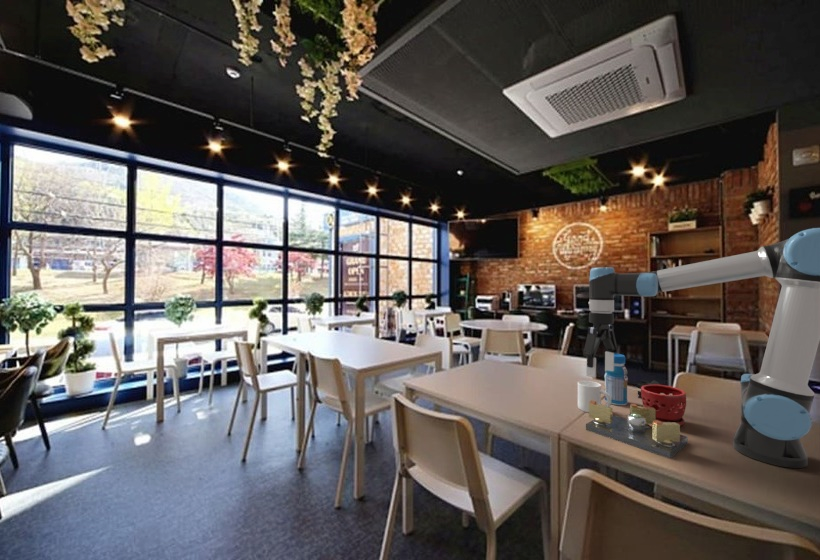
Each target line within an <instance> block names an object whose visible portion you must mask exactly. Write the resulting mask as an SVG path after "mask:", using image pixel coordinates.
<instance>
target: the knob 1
mask: <svg viewBox="0 0 820 560" xmlns="http://www.w3.org/2000/svg"><path fill="white" fill-rule="evenodd" d="M604 405H605V404H604ZM604 405H603V404H601V405H600V404H597V403H596V401H589V413H588V418H591V419H593V420H595V422H597V423H600V424H605V423H609V424H611V423H612V415H613V407H611V406H610V407H608V406H604Z"/></svg>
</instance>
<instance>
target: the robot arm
mask: <svg viewBox="0 0 820 560" xmlns="http://www.w3.org/2000/svg"><path fill="white" fill-rule="evenodd" d="M759 277H767V278H769V279H775V280H776V281H777V282H778V283H779V284H780V285H781V289H780V293H779V296H778V301H777V304H776V306H775V307H776V308H775V311H774V315H773V320H772V323H771V327H770V331H769V336H768V339H767V343H766V348H765V352H764V355H763V358H762V362H761V367H760V371H759V372H758V373H756V374H755V373H743V374H742V375H741V377H740V382H739V384H740V423H739V425H738V428H737V430H736V432H735V434H734V436H733V440H732V441H733V442H732V447H733V449H734V450H736V451H737V452H739V453H740V454H742V455H744V456H746V457H749V458H751V459H753V460H756V461H758V462H759V461H760V462H761V463H766V464H769V465H773V466H778V467H782V468H783V467H784V468H789V469H790V468H793V469H800V468H801V469H802V468H803V469H804V468H806V467H808V462H809V461H808V458H809V457H808V454H807V452H806V450H805V448H804V445H803V443H802V441H801V438H803V437H805V436H806V435H807V434H808V433H809V432H810V431H811V427H812V423H813V422H812V417H811V415H810V412H811V410H812V404H813V402H814V397H815V392H814V391H813V390H812V389H811V388H810V386H809V381H810V376H811V373H812V370H813V366H814V363H815V359H816V355H817V352H818V347H819V344H820V227H812V228H808V229H803V230H801V231H798V232H797V233H795V234H793V235H792V236H790V238H787V239H785V240H782V241H779V242H776V243H772V244H768V245H763V246H761V247H759V248H758V250H755V251H751V252H746V253H740V254H736V255H730V256H729V255H728V256H723V257H720V258H715V259H714V258H713V259H711V260H703V261H699V262H695V263H690V264H683V265H678V266H673V267H669V268H664V269H658V270H655V271H647V272H627V273H625V272H621V273H619V272H616V271H615V268H614V267H607V266H606V267H602V266H601V267H597V266H596V267H592V268H591V269H590V271H589V280H588V283H589V287H588V288H589V290H588V291H589V292H588V293H589V296H588V298H589V301H588V306H589V308H588V310H589V311H590V312H589V313H588V322H589V323H590V324H593V326H588V327H587V335H586V339H585V344H584V349H583V352H582V355H583V357H586V377H590V378H596V377H597V357H596V354H597V352H598V350H599V346H600V343H601V342H602V343H603V345H604V348H605V350H606V351H605V352H604V371H605V370H608V371H614V354H618V344H617V340H616V336H615V332H614V329H615V328H614V324H615V313H614V312H615V296H628V297H630V296H631V297H643V298H645V297H646V298H647V297H655V296H657V295H658V294H659V293H663V292H670V291H676V290H684V289H688V288H694V287H695V288H696V287H701V286H709V285H714V284H721V283H728V282H734V281H740V280H748V279H752V278H753V279H754V278H759Z"/></svg>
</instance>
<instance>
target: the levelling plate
mask: <svg viewBox="0 0 820 560" xmlns="http://www.w3.org/2000/svg"><path fill="white" fill-rule="evenodd" d="M588 430H589V431H588ZM585 431H588V432H591V431H592V433H594V432H595V434H597V435H600V436H602V437H605V438H609V437H610V438H609V439H611V438H613V439H612V440H614V439H615V441H617V440H618V441H617V442H620V441H621V442H620V443H623V442H624V444H626V443H627V444H626V445H629V446H633V447H635V448H639V449H641V450H643V451H646V452H649V453H653V454H655V455H659V456H662V457H664V458H667V459H672V458H673V457H674V456H676V454H677V453H679V451H681V450H682V449H683V448H684V447H685V446H687V445H688V442H689V441H688V440H689V436H687V435H683V434H680V442H673V445H666V444H663V443H661V442H656V441H655V440H653V439H652V425H651V424H648V426H646V418H645V417H644V416H641V415H640V414H638V413H632V414H630V413H628V414H627V418H624V417H622V416H619V415H614V414H612V423H611V424H609V423H605V424H600V423H597V422H595V419H593V420H591V421H589V422H587V423H585Z"/></svg>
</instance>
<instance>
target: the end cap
mask: <svg viewBox="0 0 820 560" xmlns="http://www.w3.org/2000/svg"><path fill="white" fill-rule="evenodd" d="M644 385H661V384H660V382H658V381H656V380H652V381H650V380H644V379H642V380H641V381H640V382H638V383H637V389H639V390H637V398H638V399H641V400H642V397H641V387H642V386H644ZM653 393H656V392H653Z"/></svg>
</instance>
